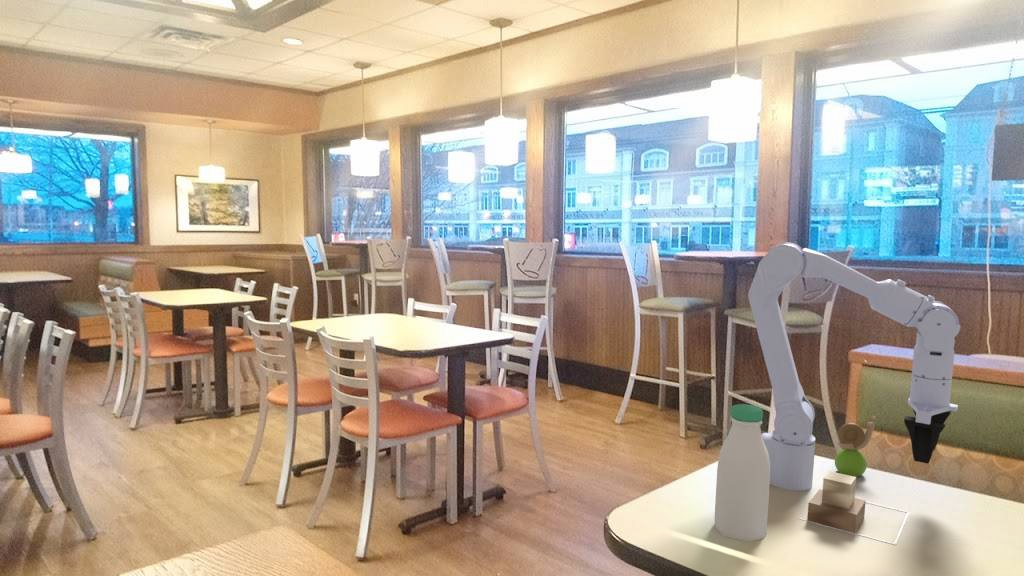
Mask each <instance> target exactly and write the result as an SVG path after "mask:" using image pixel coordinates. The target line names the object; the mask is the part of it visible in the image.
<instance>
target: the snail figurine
mask: <svg viewBox="0 0 1024 576" xmlns="http://www.w3.org/2000/svg"><path fill="white" fill-rule="evenodd" d="M871 419H873V420H872V421H869V422H867V423H866V431H864V429H863V428H862V427H861V425H858V424H857V423H854V422H848V423H845V424H842V425H841V426H840V428H838V433H837V437H838V439H839V441H838V442H837V445H838V446H839V447H840V448H841V450H839V451H838V452H837V454H836V455H835V456H834V465H835V469H836V470H837V471H838V473H840V474H845V475H849V476H854V477H856V478H858V477H859V478H860V477H861V476H862V475H863V474H864V473H865V472H866V470H867V467H868V466H867V464H868V462H867V459H866V457H865V455H864V454H863V453H862V452H861V451H859V450H862V449H865V448H866V447H867V446H868V444H869V443H870V441H871V438H872V436H873V432H874V430H875V427H876V425H875V423H876V422H875V421H876V420H877V417H876V416H875V415H872V416H871ZM840 441H841V442H840Z"/></svg>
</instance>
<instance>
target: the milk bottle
mask: <svg viewBox="0 0 1024 576" xmlns="http://www.w3.org/2000/svg"><path fill="white" fill-rule="evenodd" d="M763 417H764V411H763V408H762V407H760V406H757V405H752V404H747V403H746V404H745V403H738V404H734V405H732V406H731V408H730V421H731V426H730V430H729V433H728V434H727V436H726V438H725V440H724V442H723V444H722V446H721V448H720V451H719V455H718V459H717V460H718V461H717V469H716V484H715V485H716V487H715V488H716V489H715V502H714V505H715V506H714V507H715V508H714V528H715V530H716V531H717V532H718V533H719V534H720V535H723V536H724V537H728V538H730V539H734V540H738V541H744V542H745V541H747V542H753V541H759V540H762V539H764V538H765V537H766V536H767V529H768V516H769V499H770V485H771V484H770V459H769V454H768V451H767V448H766V446H765V443H764V441H763V438H762V430H761V425H763Z"/></svg>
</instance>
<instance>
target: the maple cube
mask: <svg viewBox="0 0 1024 576" xmlns="http://www.w3.org/2000/svg"><path fill="white" fill-rule="evenodd" d="M822 482H823V483H822V490H823V491H822V503H826V504H830V505H834V506H838V507H842V508H846V509H850V507H851V506H852V504H853V502H854V500H855V498H856V485H857V484H856V483H857V477H854V476H849V475H845V474H841V473H840V472H835V471H831V470H829V471H828V472H827V473H826V474H825V476H824V477H823V481H822Z"/></svg>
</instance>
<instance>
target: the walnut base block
mask: <svg viewBox="0 0 1024 576" xmlns="http://www.w3.org/2000/svg"><path fill="white" fill-rule="evenodd" d="M822 491H823V489H818V490H817V492H815V494H814V495H813V496H812V497H811V499H810V500H809V501H808V505H807V516H806V517H807V518H806V520H807V521H806V522H808V521H811V522H810V523H812V522H814V523H813V524H815V523H818V524H817V525H819V524H822V525H821V526H823V525H826V526H829V527H828V528H830V527H833V528H832V529H834V528H837V529H836V530H838V529H840V530H839V531H841V530H844V531H843V532H845V531H848V532H847V533H849V532H851V533H850V534H852V533H857V531H858V530H859V528H860V526H861V524H862V523H863V521H864V519H865V512H866V504H867V503H866V502H867V501H866V499H861V498H857V497H855V500H854V502H853V504H852V506H851V507H850V509H846V508H842V507H838V506H834V505H830V504H826V503H822ZM826 526H825V527H826Z"/></svg>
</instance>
